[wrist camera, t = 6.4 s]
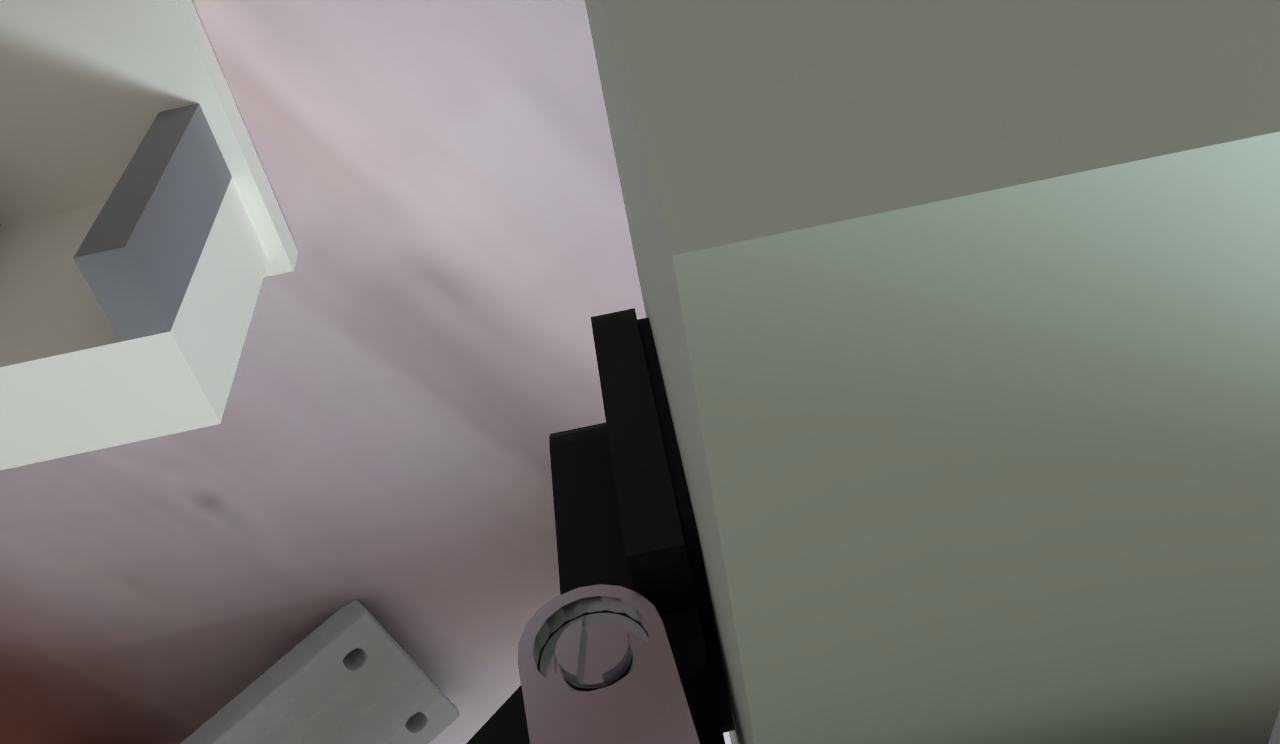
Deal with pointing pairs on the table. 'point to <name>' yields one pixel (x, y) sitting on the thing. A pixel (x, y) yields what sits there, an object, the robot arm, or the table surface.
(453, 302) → the table surface
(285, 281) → the table surface
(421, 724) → the door handle
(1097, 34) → the door panel
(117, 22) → the hinge frame
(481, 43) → the table surface
